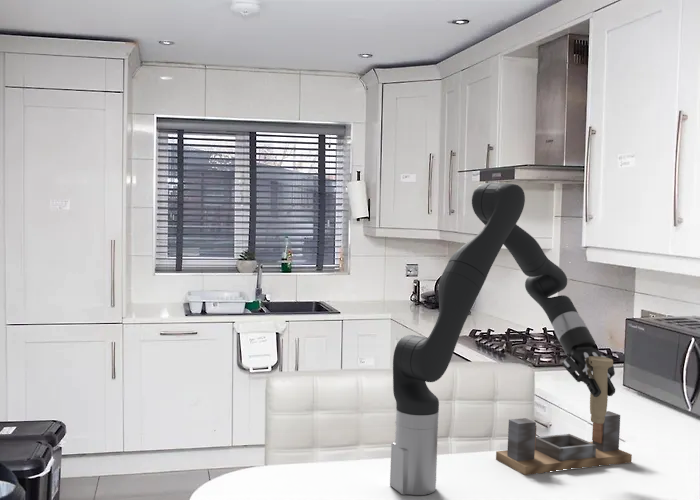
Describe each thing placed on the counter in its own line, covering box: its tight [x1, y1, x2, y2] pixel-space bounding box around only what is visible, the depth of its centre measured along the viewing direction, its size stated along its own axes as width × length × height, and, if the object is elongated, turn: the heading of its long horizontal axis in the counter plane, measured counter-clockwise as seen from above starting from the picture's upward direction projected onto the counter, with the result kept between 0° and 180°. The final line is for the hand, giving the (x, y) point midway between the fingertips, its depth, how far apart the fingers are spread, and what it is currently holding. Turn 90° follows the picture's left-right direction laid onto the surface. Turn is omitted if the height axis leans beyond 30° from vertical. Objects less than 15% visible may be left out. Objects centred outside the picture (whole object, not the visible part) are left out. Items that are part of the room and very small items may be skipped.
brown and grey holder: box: [495, 410, 633, 476], centre depth 184 cm, size 32×12×11 cm, turn 112°
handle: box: [589, 356, 614, 424], centre depth 173 cm, size 5×6×15 cm
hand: (605, 394), depth 171 cm, fingers closed on handle, 3 cm apart
